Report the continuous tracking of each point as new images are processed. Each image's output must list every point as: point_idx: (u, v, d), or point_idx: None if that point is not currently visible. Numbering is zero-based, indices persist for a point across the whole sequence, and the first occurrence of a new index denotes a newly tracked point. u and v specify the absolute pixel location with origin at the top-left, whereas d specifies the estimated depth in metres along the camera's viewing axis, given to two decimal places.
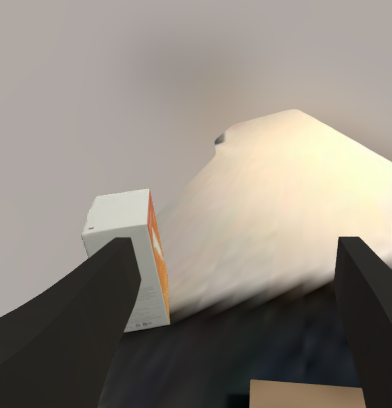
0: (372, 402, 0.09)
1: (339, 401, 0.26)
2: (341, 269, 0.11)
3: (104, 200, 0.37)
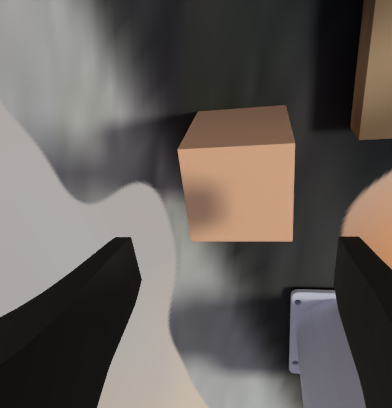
0: (372, 402, 0.09)
1: None
2: (341, 269, 0.11)
3: None
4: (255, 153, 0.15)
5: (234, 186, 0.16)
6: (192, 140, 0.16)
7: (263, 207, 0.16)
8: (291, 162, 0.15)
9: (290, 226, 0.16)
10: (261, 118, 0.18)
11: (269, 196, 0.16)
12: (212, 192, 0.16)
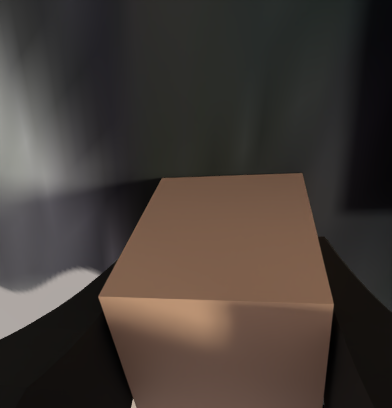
0: (328, 398, 0.09)
1: None
2: None
3: None
4: (252, 313, 0.07)
5: (211, 358, 0.08)
6: (133, 265, 0.09)
7: (266, 392, 0.09)
8: (324, 333, 0.07)
9: None
10: (262, 206, 0.10)
11: (279, 378, 0.08)
12: (171, 363, 0.09)
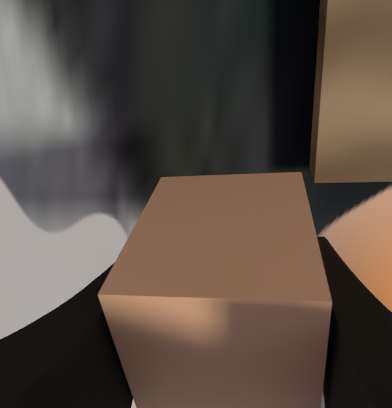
0: (328, 398, 0.09)
1: None
2: None
3: None
4: (251, 311, 0.07)
5: (210, 356, 0.08)
6: (132, 263, 0.09)
7: (265, 390, 0.09)
8: (322, 331, 0.07)
9: None
10: (261, 204, 0.10)
11: (277, 376, 0.08)
12: (169, 361, 0.09)
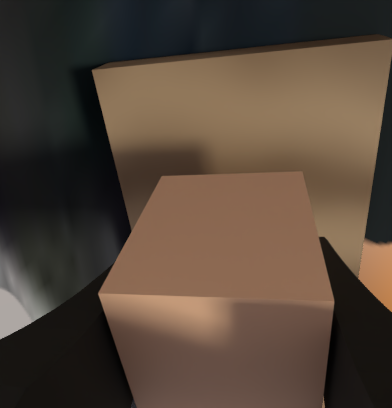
0: (328, 398, 0.09)
1: (249, 86, 0.14)
2: None
3: None
4: (252, 310, 0.07)
5: (211, 355, 0.08)
6: (133, 262, 0.09)
7: (266, 389, 0.09)
8: (324, 330, 0.07)
9: None
10: (262, 203, 0.10)
11: (278, 375, 0.08)
12: (170, 360, 0.09)
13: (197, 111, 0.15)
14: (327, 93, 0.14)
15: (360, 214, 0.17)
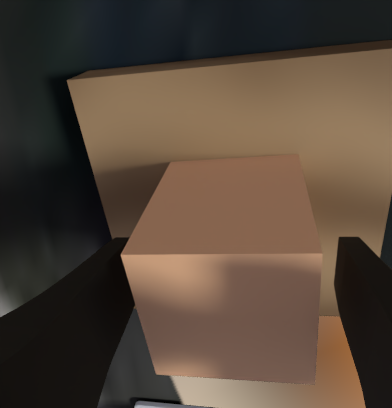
0: (372, 402, 0.09)
1: (247, 99, 0.12)
2: (341, 269, 0.11)
3: None
4: (253, 265, 0.09)
5: (219, 309, 0.10)
6: (149, 230, 0.10)
7: (267, 340, 0.10)
8: (315, 281, 0.09)
9: (311, 366, 0.10)
10: (262, 181, 0.12)
11: (277, 326, 0.10)
12: (183, 316, 0.10)
13: (188, 127, 0.13)
14: (338, 108, 0.12)
15: (374, 243, 0.15)
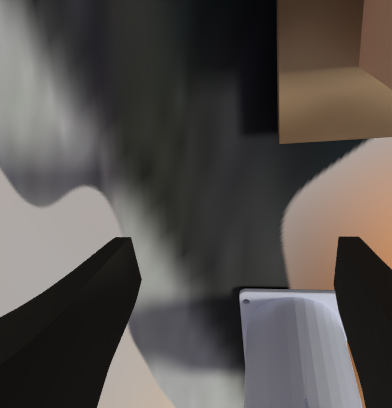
0: (372, 402, 0.09)
1: None
2: (341, 269, 0.11)
3: None
4: None
5: None
6: None
7: None
8: None
9: None
10: None
11: None
12: None
13: None
14: None
15: None
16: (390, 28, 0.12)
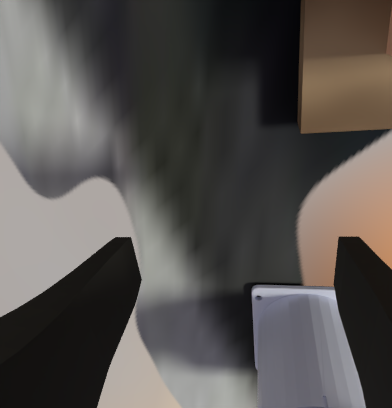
0: (372, 402, 0.09)
1: None
2: (341, 269, 0.11)
3: None
4: None
5: None
6: None
7: None
8: None
9: None
10: None
11: None
12: None
13: None
14: None
15: None
16: None
